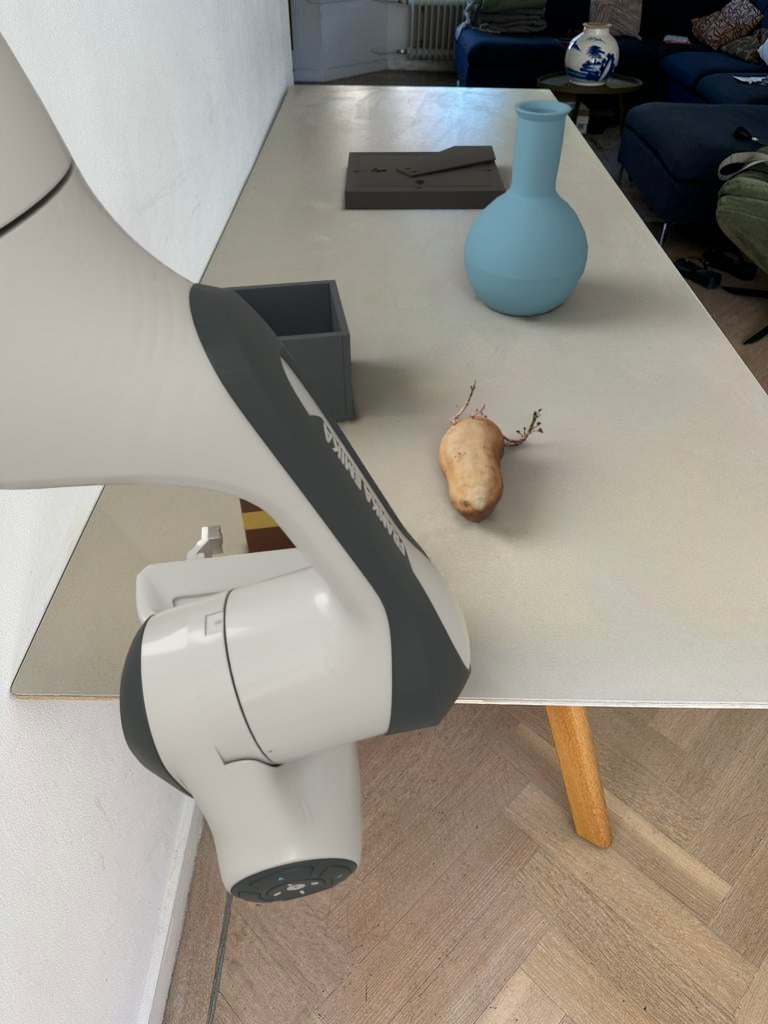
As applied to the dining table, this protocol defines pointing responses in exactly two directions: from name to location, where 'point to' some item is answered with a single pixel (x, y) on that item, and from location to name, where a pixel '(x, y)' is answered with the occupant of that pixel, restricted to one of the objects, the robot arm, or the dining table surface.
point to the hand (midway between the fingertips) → (270, 525)
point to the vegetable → (475, 462)
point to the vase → (529, 224)
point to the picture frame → (423, 179)
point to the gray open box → (310, 335)
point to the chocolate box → (262, 530)
